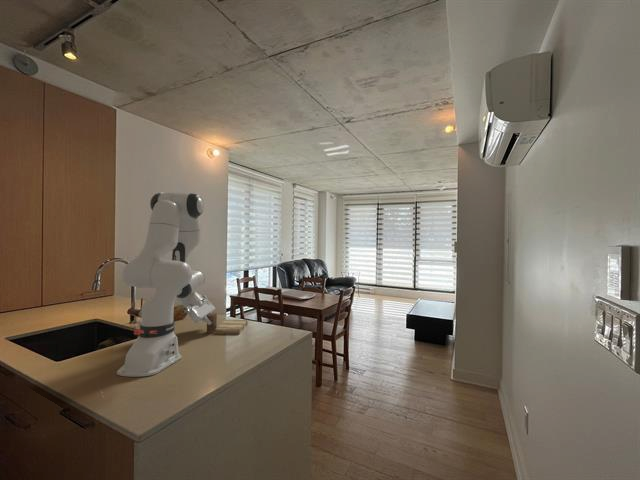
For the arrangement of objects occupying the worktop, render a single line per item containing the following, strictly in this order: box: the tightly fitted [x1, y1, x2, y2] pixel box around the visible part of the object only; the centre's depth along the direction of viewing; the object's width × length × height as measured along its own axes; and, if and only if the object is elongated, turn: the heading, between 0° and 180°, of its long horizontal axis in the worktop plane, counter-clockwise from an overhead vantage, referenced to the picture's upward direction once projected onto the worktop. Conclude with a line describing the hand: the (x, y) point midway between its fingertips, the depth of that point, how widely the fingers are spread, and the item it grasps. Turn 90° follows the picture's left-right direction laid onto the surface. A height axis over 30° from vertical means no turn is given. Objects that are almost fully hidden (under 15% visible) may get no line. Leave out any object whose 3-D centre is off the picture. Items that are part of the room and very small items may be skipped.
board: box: [214, 319, 249, 335], centre depth 153 cm, size 16×12×2 cm
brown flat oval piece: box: [173, 304, 188, 321], centre depth 167 cm, size 15×3×8 cm, turn 143°
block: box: [206, 312, 218, 334], centre depth 148 cm, size 4×4×9 cm
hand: (213, 322), depth 148 cm, fingers open, 4 cm apart
